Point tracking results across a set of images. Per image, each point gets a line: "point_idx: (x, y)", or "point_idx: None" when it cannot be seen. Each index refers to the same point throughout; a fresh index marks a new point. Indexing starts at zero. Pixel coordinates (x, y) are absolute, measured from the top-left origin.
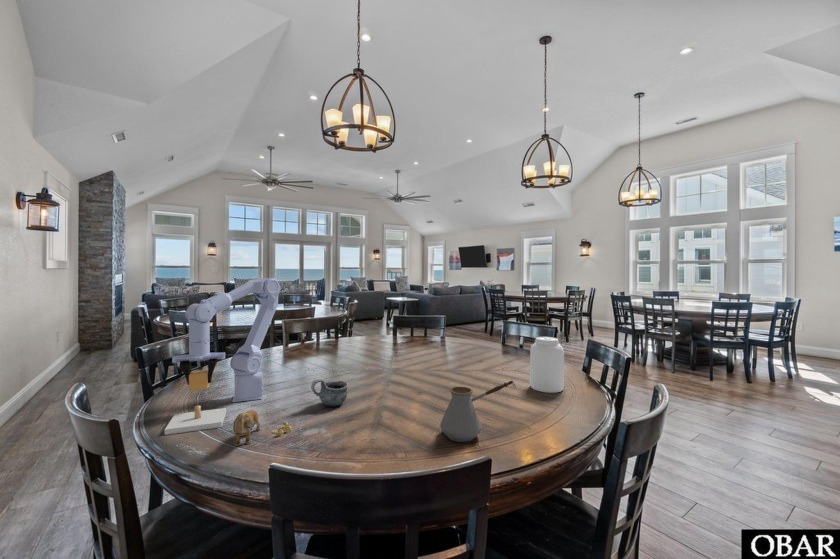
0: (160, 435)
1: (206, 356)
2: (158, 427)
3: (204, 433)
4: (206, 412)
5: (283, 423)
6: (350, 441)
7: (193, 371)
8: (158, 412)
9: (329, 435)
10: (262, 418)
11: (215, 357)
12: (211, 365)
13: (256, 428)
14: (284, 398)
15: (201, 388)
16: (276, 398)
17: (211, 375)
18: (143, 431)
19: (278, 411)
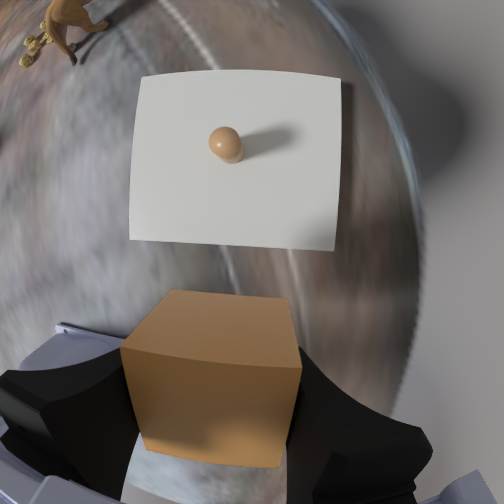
0: (348, 90)
1: (15, 490)
2: (372, 176)
3: (202, 49)
4: (201, 212)
5: (25, 59)
6: (3, 18)
7: (266, 452)
8: (382, 345)
9: (5, 33)
10: (47, 132)
11: (16, 468)
12: (41, 382)
13: (72, 45)
14: (14, 295)
15: (205, 294)
16: (29, 307)
17: None
18: (409, 161)
19: (16, 182)
